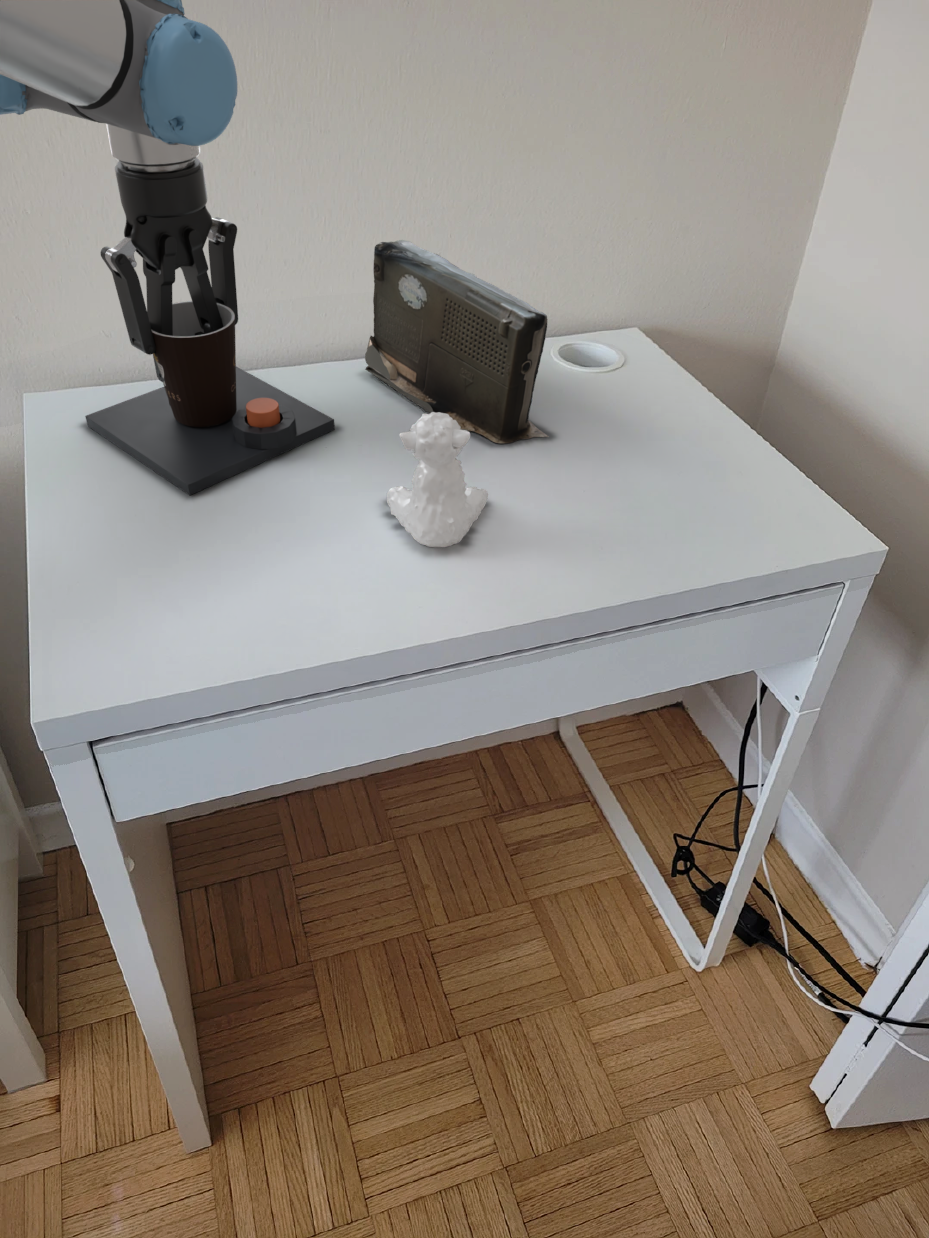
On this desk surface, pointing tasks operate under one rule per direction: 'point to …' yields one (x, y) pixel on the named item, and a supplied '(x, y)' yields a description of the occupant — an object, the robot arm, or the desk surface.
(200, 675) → the desk surface
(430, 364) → the radio
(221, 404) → the coffee mug
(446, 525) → the sitting furry creature
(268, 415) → the button
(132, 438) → the scale
